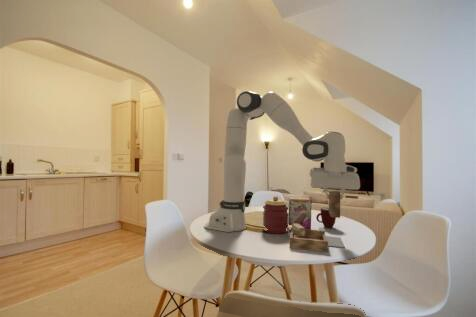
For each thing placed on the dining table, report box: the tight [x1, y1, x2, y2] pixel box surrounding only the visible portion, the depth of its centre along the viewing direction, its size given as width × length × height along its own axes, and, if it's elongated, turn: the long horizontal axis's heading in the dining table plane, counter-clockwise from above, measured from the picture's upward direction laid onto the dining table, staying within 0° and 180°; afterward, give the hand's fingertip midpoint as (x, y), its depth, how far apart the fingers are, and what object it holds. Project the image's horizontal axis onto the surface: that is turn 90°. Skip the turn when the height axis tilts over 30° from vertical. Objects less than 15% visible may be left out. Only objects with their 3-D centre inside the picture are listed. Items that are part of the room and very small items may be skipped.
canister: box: [262, 195, 289, 235], centre depth 117 cm, size 13×13×18 cm
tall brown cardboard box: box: [328, 189, 341, 219], centre depth 101 cm, size 4×10×10 cm, turn 164°
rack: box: [289, 228, 329, 253], centre depth 98 cm, size 15×15×4 cm
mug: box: [315, 207, 337, 229], centre depth 124 cm, size 10×8×10 cm
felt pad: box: [325, 235, 346, 249], centre depth 100 cm, size 7×13×1 cm, turn 164°
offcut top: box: [292, 224, 305, 236], centre depth 99 cm, size 3×7×4 cm, turn 8°
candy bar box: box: [288, 197, 312, 230], centre depth 118 cm, size 11×5×16 cm, turn 84°
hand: (334, 198), depth 101 cm, fingers closed on tall brown cardboard box, 3 cm apart
